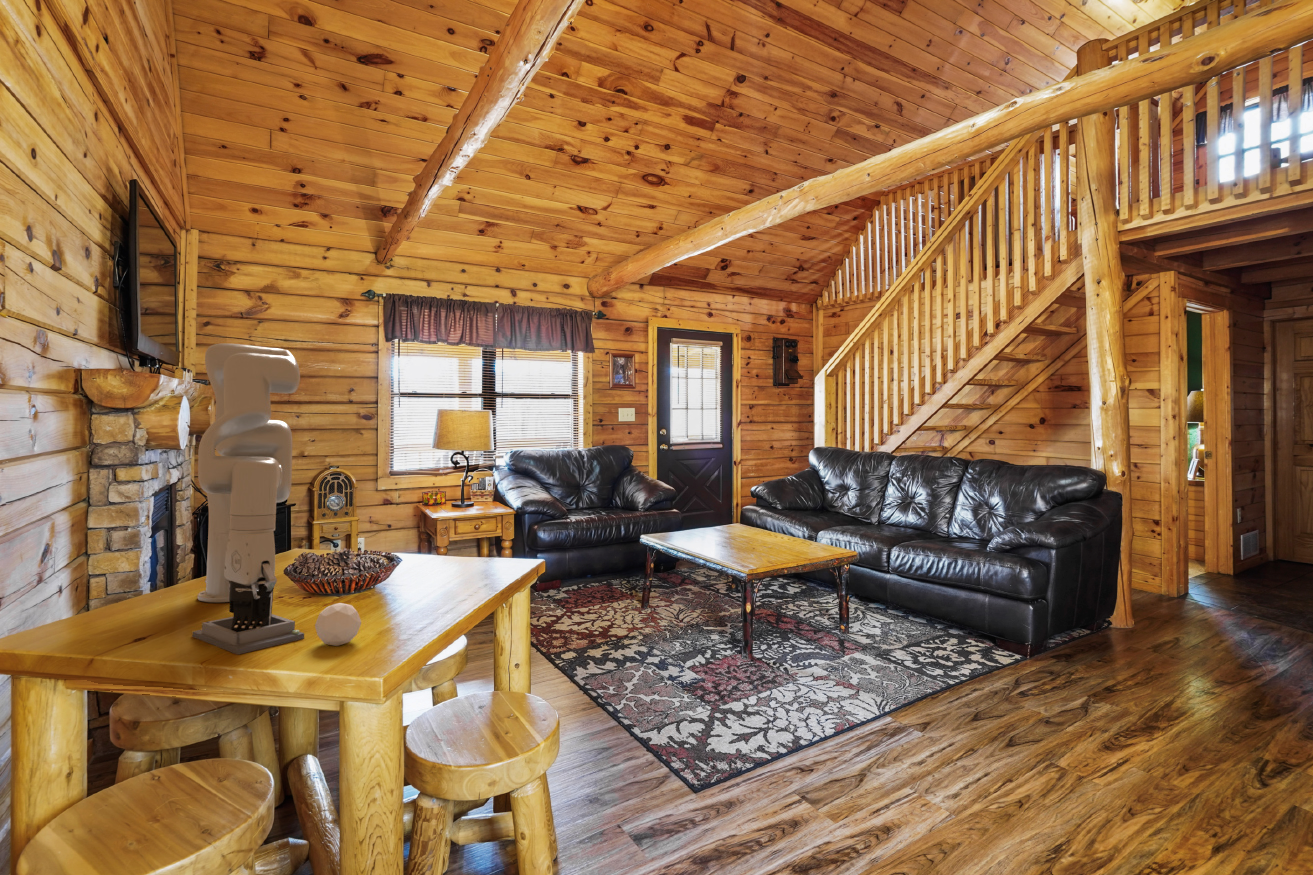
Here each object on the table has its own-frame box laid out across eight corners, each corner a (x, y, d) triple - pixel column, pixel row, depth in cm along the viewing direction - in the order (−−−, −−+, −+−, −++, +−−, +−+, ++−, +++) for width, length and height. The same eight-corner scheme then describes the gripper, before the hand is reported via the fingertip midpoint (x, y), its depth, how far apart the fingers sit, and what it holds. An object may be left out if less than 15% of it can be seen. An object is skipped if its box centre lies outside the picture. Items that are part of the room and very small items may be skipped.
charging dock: (192, 636, 125) (193, 620, 125) (257, 622, 135) (258, 608, 135) (237, 654, 116) (238, 637, 116) (304, 638, 126) (304, 622, 126)
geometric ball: (341, 660, 122) (340, 634, 118) (306, 642, 124) (304, 615, 119) (370, 631, 128) (369, 605, 124) (336, 614, 130) (335, 588, 125)
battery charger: (224, 633, 123) (226, 573, 123) (237, 628, 127) (239, 569, 127) (261, 635, 124) (263, 575, 124) (273, 629, 127) (275, 571, 127)
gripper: (209, 520, 127) (205, 611, 127) (256, 529, 118) (252, 627, 118) (250, 517, 133) (246, 603, 133) (297, 526, 124) (293, 618, 124)
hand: (249, 614), depth 125 cm, fingers closed on battery charger, 7 cm apart
